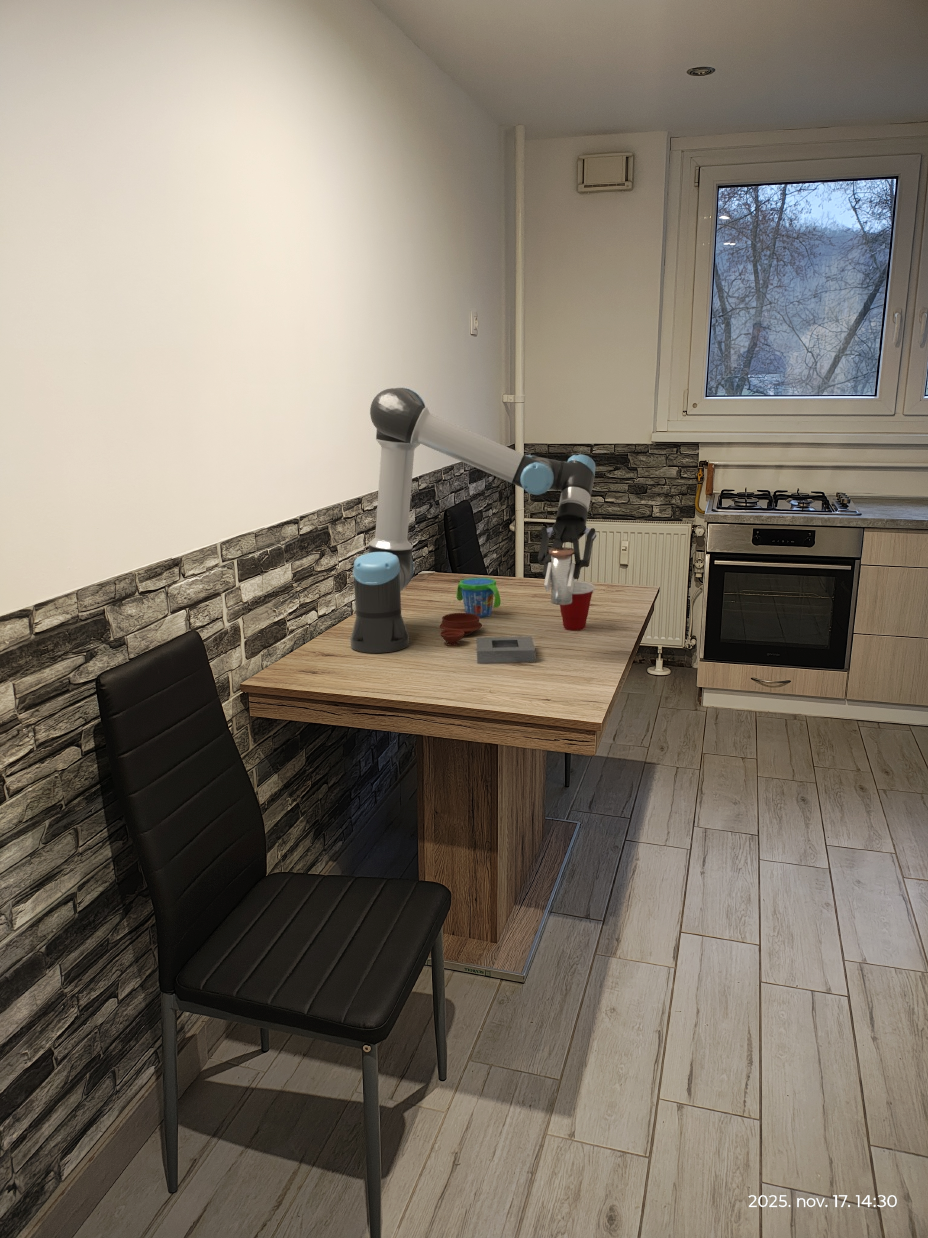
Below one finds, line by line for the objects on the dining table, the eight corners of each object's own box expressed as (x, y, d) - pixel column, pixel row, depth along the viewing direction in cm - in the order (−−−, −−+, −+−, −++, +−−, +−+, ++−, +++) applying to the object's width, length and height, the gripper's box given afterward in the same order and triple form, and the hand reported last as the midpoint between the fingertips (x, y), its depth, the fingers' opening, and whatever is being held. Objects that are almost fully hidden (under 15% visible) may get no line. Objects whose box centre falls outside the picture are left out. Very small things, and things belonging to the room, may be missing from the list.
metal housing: (477, 663, 214) (477, 651, 214) (476, 648, 226) (476, 637, 225) (535, 662, 214) (535, 650, 214) (531, 647, 226) (531, 636, 225)
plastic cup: (553, 633, 239) (554, 589, 236) (554, 622, 249) (555, 580, 246) (594, 633, 237) (595, 589, 234) (594, 623, 248) (594, 581, 245)
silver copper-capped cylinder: (550, 605, 213) (550, 552, 210) (548, 599, 219) (547, 547, 215) (575, 605, 213) (575, 551, 210) (572, 599, 219) (572, 546, 215)
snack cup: (447, 613, 262) (446, 579, 259) (474, 607, 268) (474, 574, 265) (481, 623, 250) (481, 588, 247) (509, 617, 256) (509, 582, 254)
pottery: (486, 628, 246) (485, 612, 245) (472, 648, 227) (471, 632, 226) (444, 626, 248) (444, 611, 247) (427, 646, 229) (427, 630, 228)
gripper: (610, 519, 222) (597, 598, 211) (540, 518, 228) (524, 595, 217) (607, 501, 216) (593, 581, 205) (535, 500, 222) (518, 578, 211)
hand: (558, 588), depth 211 cm, fingers closed on silver copper-capped cylinder, 5 cm apart
